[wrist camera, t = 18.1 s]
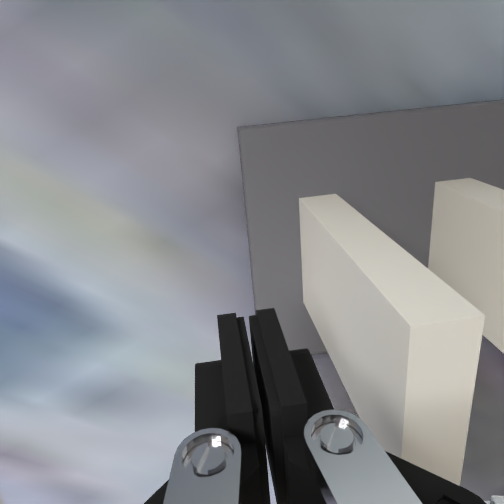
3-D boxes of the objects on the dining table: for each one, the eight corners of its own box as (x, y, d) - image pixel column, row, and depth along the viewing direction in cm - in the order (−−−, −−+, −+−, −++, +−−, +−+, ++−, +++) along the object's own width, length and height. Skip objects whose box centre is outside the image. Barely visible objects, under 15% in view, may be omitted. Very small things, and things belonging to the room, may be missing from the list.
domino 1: (303, 302, 20) (398, 497, 10) (298, 198, 18) (410, 326, 9) (336, 297, 20) (459, 486, 11) (336, 193, 18) (485, 314, 9)
